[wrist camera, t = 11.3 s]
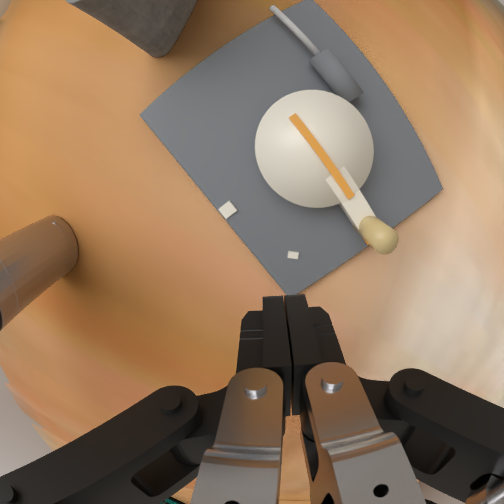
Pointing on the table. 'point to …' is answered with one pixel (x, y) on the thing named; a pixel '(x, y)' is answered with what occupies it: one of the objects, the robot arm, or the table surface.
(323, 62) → the screwdriver
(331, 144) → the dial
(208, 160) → the panel
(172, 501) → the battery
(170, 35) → the hip flask
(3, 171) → the table surface
